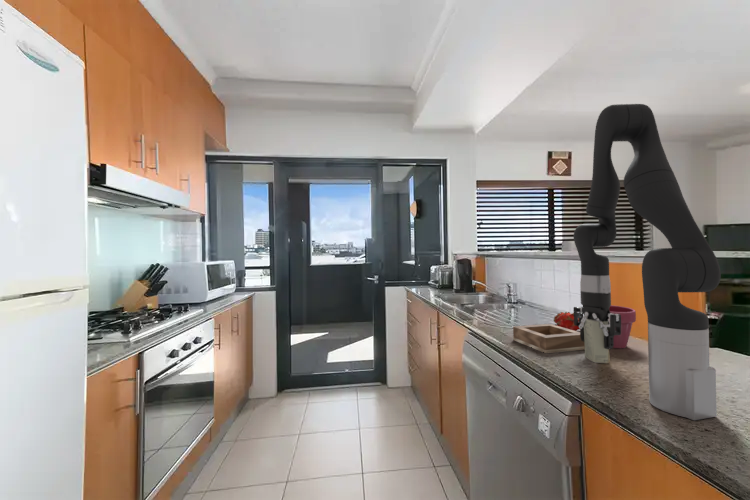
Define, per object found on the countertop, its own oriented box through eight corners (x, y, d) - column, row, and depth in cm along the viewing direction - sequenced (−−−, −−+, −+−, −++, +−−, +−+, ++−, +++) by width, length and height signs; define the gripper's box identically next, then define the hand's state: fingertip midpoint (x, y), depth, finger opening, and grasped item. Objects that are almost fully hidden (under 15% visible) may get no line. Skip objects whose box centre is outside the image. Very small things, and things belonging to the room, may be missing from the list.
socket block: (586, 349, 106) (586, 334, 106) (545, 353, 102) (545, 337, 102) (550, 336, 122) (549, 323, 122) (513, 340, 118) (513, 326, 118)
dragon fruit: (550, 333, 133) (584, 340, 128) (553, 324, 127) (589, 332, 121) (552, 314, 137) (585, 321, 132) (555, 305, 131) (590, 312, 126)
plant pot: (645, 352, 102) (644, 312, 102) (593, 349, 106) (593, 310, 106) (625, 340, 115) (624, 305, 115) (580, 337, 120) (580, 303, 120)
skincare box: (610, 363, 92) (609, 321, 92) (593, 363, 93) (592, 321, 93) (599, 356, 98) (598, 317, 99) (583, 356, 99) (582, 316, 99)
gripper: (565, 288, 102) (566, 339, 102) (607, 293, 88) (608, 353, 88) (584, 287, 104) (585, 337, 104) (629, 292, 90) (630, 351, 90)
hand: (596, 344), depth 96 cm, fingers closed on skincare box, 7 cm apart
